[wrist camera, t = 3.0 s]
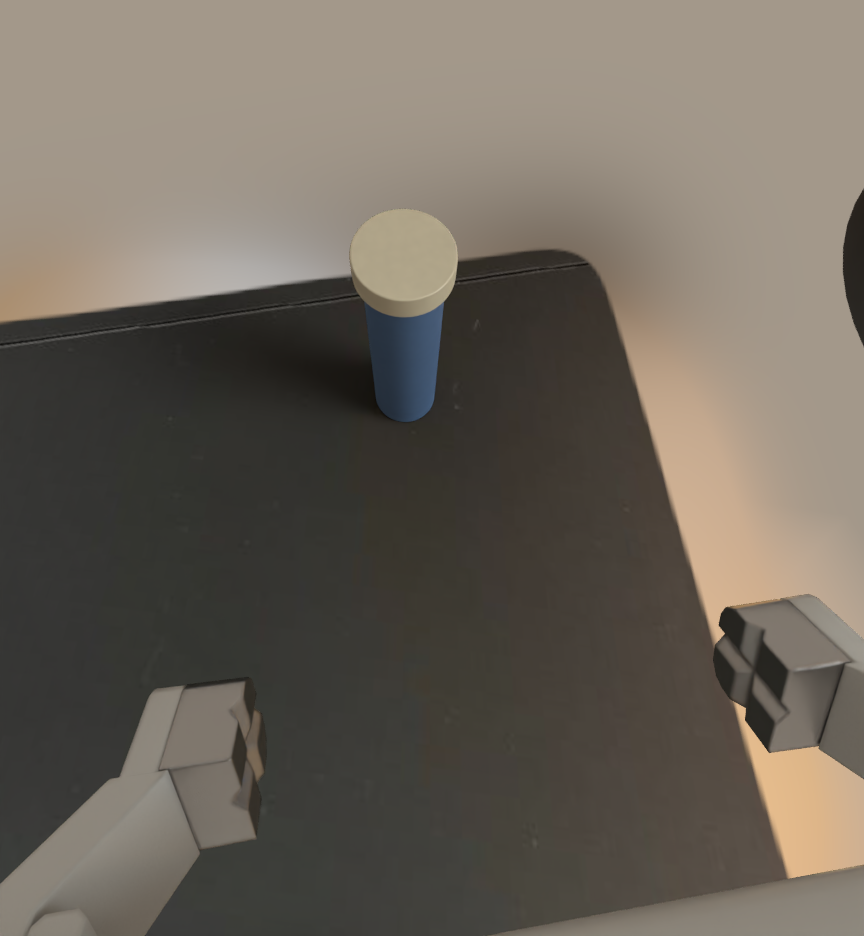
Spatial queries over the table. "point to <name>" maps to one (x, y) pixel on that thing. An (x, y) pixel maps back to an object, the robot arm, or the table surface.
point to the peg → (404, 304)
